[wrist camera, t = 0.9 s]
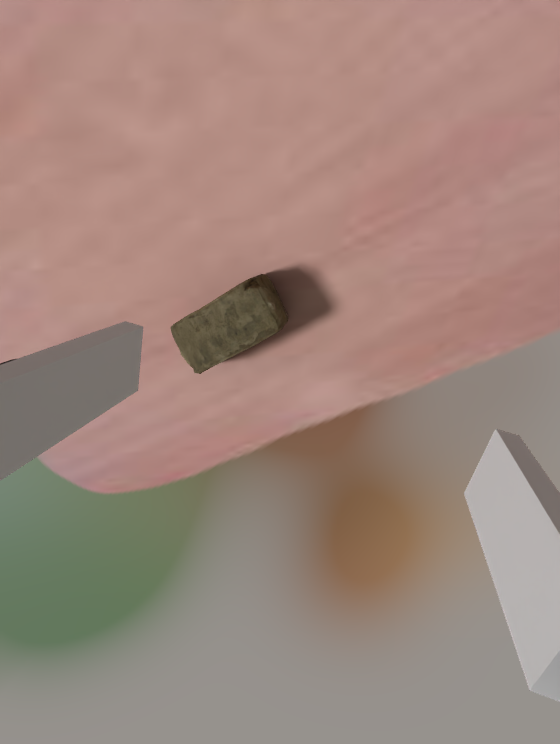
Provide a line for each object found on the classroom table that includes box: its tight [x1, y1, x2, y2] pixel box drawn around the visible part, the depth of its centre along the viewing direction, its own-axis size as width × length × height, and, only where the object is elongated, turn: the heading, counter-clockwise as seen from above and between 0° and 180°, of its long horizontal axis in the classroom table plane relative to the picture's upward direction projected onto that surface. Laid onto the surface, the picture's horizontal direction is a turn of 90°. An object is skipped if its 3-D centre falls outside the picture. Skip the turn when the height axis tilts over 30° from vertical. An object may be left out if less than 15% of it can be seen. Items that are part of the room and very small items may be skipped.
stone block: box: [171, 274, 288, 374], centre depth 39 cm, size 6×12×5 cm, turn 122°
